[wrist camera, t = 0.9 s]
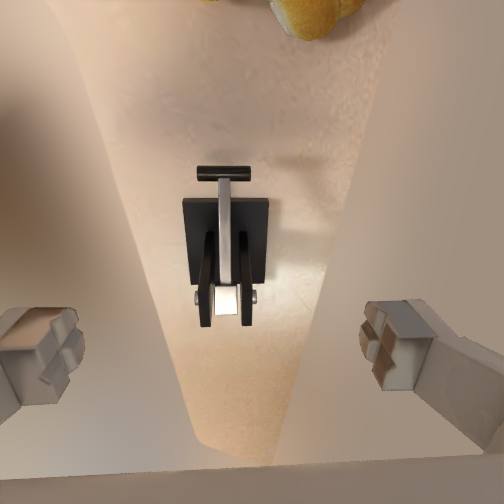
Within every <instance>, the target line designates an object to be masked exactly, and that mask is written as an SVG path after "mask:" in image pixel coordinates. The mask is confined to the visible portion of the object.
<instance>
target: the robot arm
mask: <svg viewBox="0 0 504 504" xmlns="http://www.w3.org/2000/svg"><path fill="white" fill-rule="evenodd" d="M364 314H365V316H366V318H367V320H366V321H365V322H364V323H363V324H362V325H361V328H360V333H359V336H360V346H361V349H362V352H363V354H364V356H365V358H366V359H367V360H369V361H370V362H372V363H373V368H372V372H373V374H374V376H375V378H376V380H377V382H378V383H379V385H380V387H381V389H382V391H406V390H408V391H409V390H414V393H416V394H417V395H418V396H419V397H420V398H421V399H423V400H424V401H425V402H426V403H427V404H429V405H430V406H431V407H432V408H433V409H435V410H436V411H437V412H438V413H439V414H441V415H442V416H443V417H444V418H445V419H446V420H448V421H449V422H450V423H451V424H452V425H454V426H455V427H456V428H457V429H459V430H460V431H461V432H462V433H463V434H464V435H466V436H467V437H468V438H469V439H470V440H472V441H473V442H474V443H475V444H476V445H478V446H479V447H480V448H481V449H482V450H484V452H483V454H482V455H464V456H445V457H426V458H408V459H407V458H406V459H388V460H370V461H351V462H333V463H316V464H297V465H278V466H260V467H240V468H221V469H203V470H184V471H163V472H144V473H124V474H105V475H87V476H68V477H50V478H49V477H48V478H30V479H11V480H0V504H504V356H503V355H501V354H498V353H497V352H494V351H493V350H490V349H488V348H486V347H484V346H482V345H480V344H478V343H476V342H474V341H472V340H470V339H468V338H466V337H458V335H457V334H456V333H455V332H454V331H453V330H452V329H451V328H450V327H449V326H448V325H447V324H446V323H445V322H444V321H443V320H442V319H441V318H440V317H439V316H438V315H437V314H436V313H435V311H434V310H433V309H432V308H431V307H430V306H429V305H428V304H427V303H426V302H425V301H423V300H421V299H411V300H401V301H369V302H368V303H367V304H366V306H365V310H364ZM78 320H79V318H78V316H77V313H76V310H75V309H73V308H70V307H69V308H68V307H65V308H63V307H61V308H60V307H58V308H57V307H53V308H52V307H51V308H50V307H45V308H44V307H43V308H42V307H40V308H39V307H36V308H35V307H34V308H12V309H9V310H7V311H6V312H5V313H4V314H3V315H2V316H1V317H0V425H1V424H2V423H3V422H5V421H6V420H7V419H8V418H9V417H11V416H12V415H13V414H14V413H16V412H17V411H18V410H19V409H20V408H21V406H27V405H43V404H57V403H58V401H59V400H60V398H61V396H62V394H63V392H64V391H65V389H66V387H67V386H68V384H69V382H70V379H69V376H68V374H69V373H71V372H72V371H74V370H75V369H77V368H78V366H79V365H80V363H81V361H82V359H83V355H84V351H85V339H84V335H83V332H81V331H80V330H79V329H78V328H76V327H75V326H76V324H77V322H78Z"/></svg>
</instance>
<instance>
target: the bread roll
mask: <svg viewBox="0 0 504 504" xmlns="http://www.w3.org/2000/svg"><path fill="white" fill-rule="evenodd" d="M364 1H365V0H268V2H269V4H270V7H271V9H272V11H273V13H274V14H275V16H276V18H277V20H278V21H279V23H280V24H281V26H282V27H283V29H284V31H285V32H286V34H288V36H292V37H297V38H299V39H302V40H306V41H311V40H315V39H318V38H321V37H323V36H325V35H326V34H327V33H328V32H330V31H331V30H332V29H333V27H334V26H335V24H336V22H337V21H338V20H339V19H340V18H342V17H344V16H347V15H350V14H351V13H353V12H355V11H356V10H357V9H358V8H359V7H360V6H361V5H362V4H363V2H364Z"/></svg>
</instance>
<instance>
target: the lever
mask: <svg viewBox="0 0 504 504" xmlns="http://www.w3.org/2000/svg"><path fill="white" fill-rule="evenodd" d="M197 180H198V181H218V196H219V254H220V281H219V282H215V285H214V314H215V315H236V314H237V281H231V213H230V181H251V167H250V166H197Z"/></svg>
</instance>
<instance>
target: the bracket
mask: <svg viewBox="0 0 504 504" xmlns="http://www.w3.org/2000/svg"><path fill="white" fill-rule="evenodd" d="M182 205H183V214H184V224H185V233H186V243H187V252H188V262H189V272H190V281H191V285H198V291H195V305H199V315H200V326H201V327H211V317H212V304H213V290H214V284H215V282H219V281H220V254H219V198H184V199H183V202H182ZM268 209H269V201H268V198H230V213H231V281H237V284H240V298H241V322H242V326H252V304H256V303H257V292H256V290H253V288H252V284H261V283H264V282H265V263H266V245H267V227H268Z"/></svg>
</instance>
